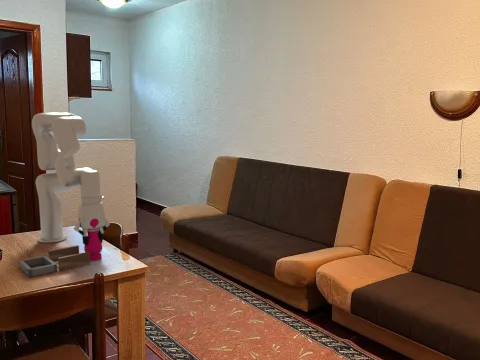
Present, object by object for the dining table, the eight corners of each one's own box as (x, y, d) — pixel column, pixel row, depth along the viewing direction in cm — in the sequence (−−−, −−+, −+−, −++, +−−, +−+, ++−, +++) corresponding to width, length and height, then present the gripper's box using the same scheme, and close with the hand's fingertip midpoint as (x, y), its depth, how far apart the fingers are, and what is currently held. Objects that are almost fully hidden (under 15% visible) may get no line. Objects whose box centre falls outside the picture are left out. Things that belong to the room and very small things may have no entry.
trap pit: (19, 267, 180) (18, 260, 179) (45, 262, 186) (45, 255, 186) (29, 277, 169) (29, 270, 169) (57, 272, 175) (57, 264, 175)
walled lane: (48, 262, 186) (48, 250, 186) (78, 256, 194) (77, 245, 193) (59, 271, 176) (58, 258, 176) (90, 264, 184) (89, 252, 183)
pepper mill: (97, 261, 187) (95, 213, 184) (81, 260, 189) (78, 212, 186) (106, 256, 194) (104, 209, 191) (90, 255, 196) (88, 209, 193)
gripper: (107, 196, 196) (109, 238, 199) (66, 201, 185) (69, 245, 188) (114, 199, 190) (116, 242, 193) (73, 204, 180) (75, 249, 182)
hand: (93, 243), depth 190 cm, fingers closed on pepper mill, 5 cm apart
